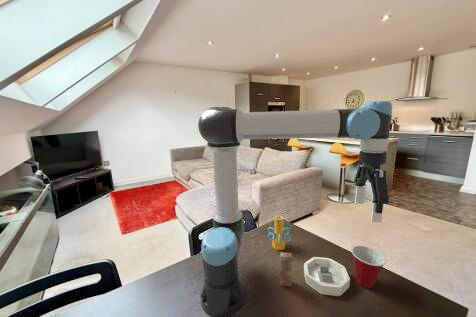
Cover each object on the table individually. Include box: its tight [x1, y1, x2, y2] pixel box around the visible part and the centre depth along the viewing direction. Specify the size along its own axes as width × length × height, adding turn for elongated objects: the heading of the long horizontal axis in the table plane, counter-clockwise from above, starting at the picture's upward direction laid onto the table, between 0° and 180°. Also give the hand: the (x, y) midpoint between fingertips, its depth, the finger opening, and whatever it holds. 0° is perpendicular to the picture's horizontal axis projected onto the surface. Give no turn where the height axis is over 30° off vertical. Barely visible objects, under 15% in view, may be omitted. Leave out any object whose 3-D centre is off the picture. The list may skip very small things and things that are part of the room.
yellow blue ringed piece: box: [267, 215, 292, 251], centre depth 100 cm, size 12×10×15 cm
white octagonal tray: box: [303, 256, 351, 297], centre depth 81 cm, size 15×15×4 cm
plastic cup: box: [350, 244, 387, 289], centre depth 77 cm, size 11×11×12 cm
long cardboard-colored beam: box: [279, 251, 293, 287], centre depth 78 cm, size 4×2×12 cm, turn 81°
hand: (366, 211), depth 73 cm, fingers open, 13 cm apart
